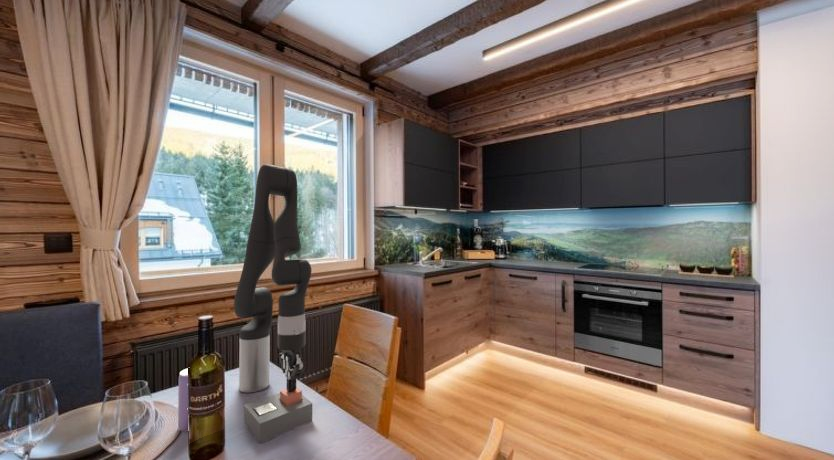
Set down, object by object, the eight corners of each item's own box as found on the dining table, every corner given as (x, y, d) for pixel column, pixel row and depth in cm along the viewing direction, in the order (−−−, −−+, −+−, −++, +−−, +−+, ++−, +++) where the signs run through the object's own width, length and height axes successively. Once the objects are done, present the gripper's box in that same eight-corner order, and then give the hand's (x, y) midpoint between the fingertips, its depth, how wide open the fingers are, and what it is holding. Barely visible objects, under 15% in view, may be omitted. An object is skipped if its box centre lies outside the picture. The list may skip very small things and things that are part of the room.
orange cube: (279, 406, 93) (280, 390, 93) (295, 400, 96) (295, 385, 96) (286, 412, 90) (286, 396, 90) (301, 406, 93) (301, 390, 93)
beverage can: (191, 434, 85) (191, 376, 85) (172, 431, 87) (172, 374, 87) (210, 421, 91) (210, 367, 91) (192, 418, 92) (192, 365, 92)
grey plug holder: (243, 423, 90) (244, 405, 90) (293, 404, 100) (293, 388, 100) (259, 443, 82) (259, 423, 82) (312, 421, 91) (312, 403, 91)
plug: (253, 425, 88) (253, 408, 88) (270, 418, 91) (270, 402, 91) (259, 432, 85) (259, 415, 85) (276, 425, 88) (276, 408, 88)
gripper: (269, 327, 95) (269, 387, 95) (288, 338, 86) (288, 404, 86) (294, 322, 101) (294, 379, 101) (315, 331, 91) (314, 394, 91)
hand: (291, 390), depth 93 cm, fingers closed
